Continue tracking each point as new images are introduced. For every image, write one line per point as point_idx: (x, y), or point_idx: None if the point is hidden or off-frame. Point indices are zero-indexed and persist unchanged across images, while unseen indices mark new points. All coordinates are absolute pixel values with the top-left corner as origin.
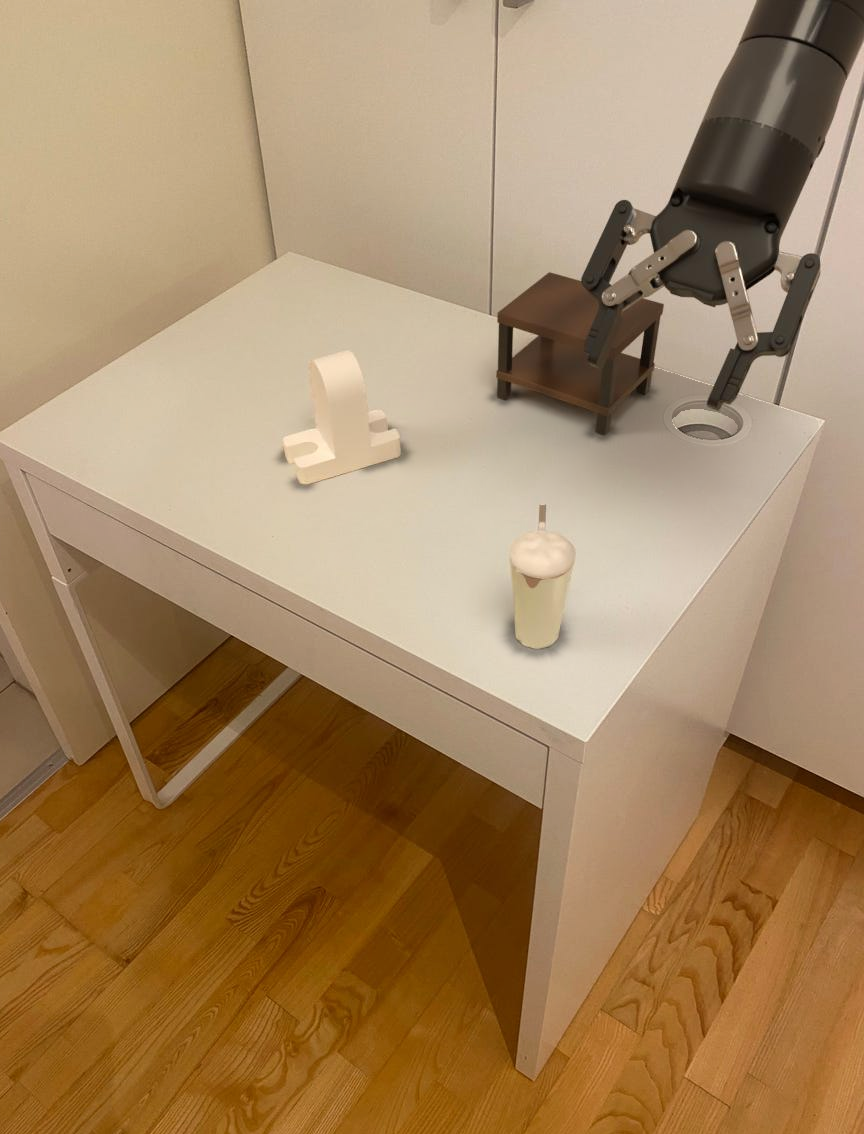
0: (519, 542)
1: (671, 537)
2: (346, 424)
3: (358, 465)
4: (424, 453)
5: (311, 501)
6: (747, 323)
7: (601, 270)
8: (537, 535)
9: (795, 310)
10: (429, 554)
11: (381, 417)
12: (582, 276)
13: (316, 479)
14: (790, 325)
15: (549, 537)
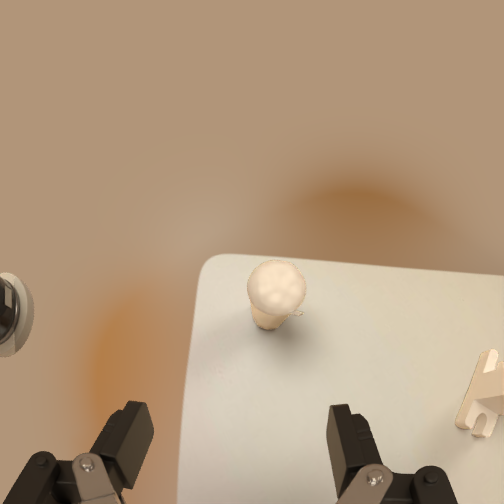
0: (298, 277)
1: (221, 463)
2: (496, 379)
3: (469, 390)
4: (443, 437)
5: (469, 342)
6: (87, 486)
7: (423, 498)
8: (288, 291)
9: (16, 493)
10: (380, 346)
11: (484, 431)
12: (445, 474)
13: (479, 360)
14: (25, 476)
15: (277, 294)
